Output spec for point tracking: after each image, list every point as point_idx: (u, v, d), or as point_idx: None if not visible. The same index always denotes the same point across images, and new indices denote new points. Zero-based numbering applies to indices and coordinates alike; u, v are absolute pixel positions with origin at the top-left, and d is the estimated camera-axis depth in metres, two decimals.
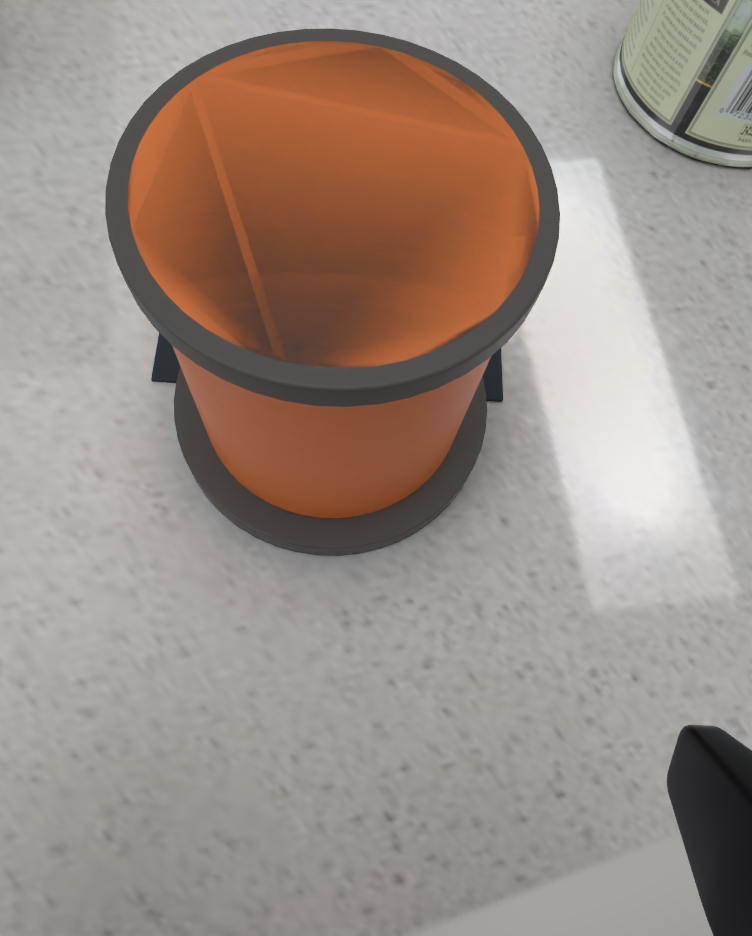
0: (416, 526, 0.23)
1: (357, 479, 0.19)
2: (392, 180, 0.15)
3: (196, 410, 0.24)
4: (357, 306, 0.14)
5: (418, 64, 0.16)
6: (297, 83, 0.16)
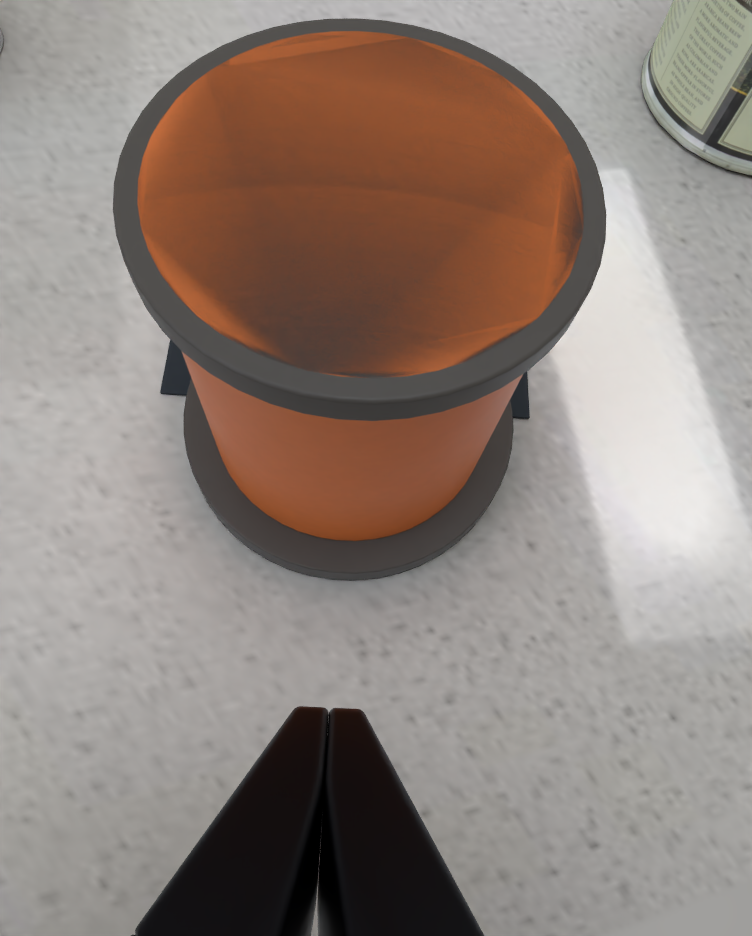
0: (438, 550, 0.21)
1: (377, 500, 0.18)
2: (423, 176, 0.14)
3: (207, 424, 0.22)
4: (385, 311, 0.13)
5: (451, 55, 0.15)
6: (322, 74, 0.15)
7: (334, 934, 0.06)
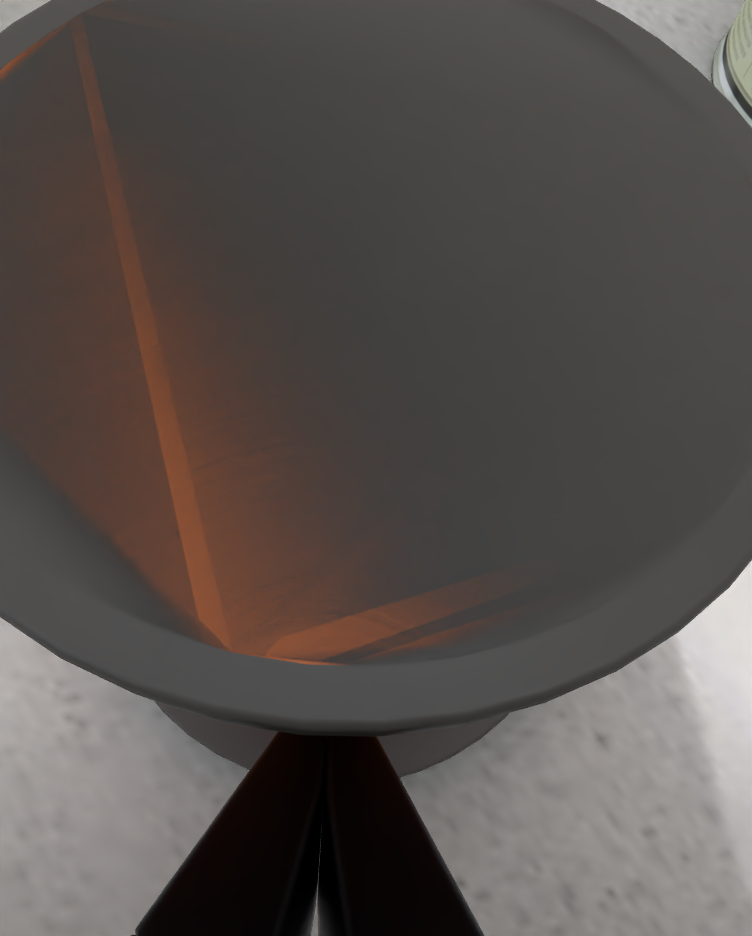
0: (472, 743, 0.15)
1: None
2: (471, 206, 0.07)
3: None
4: (405, 497, 0.06)
5: None
6: (281, 23, 0.08)
7: (334, 934, 0.06)
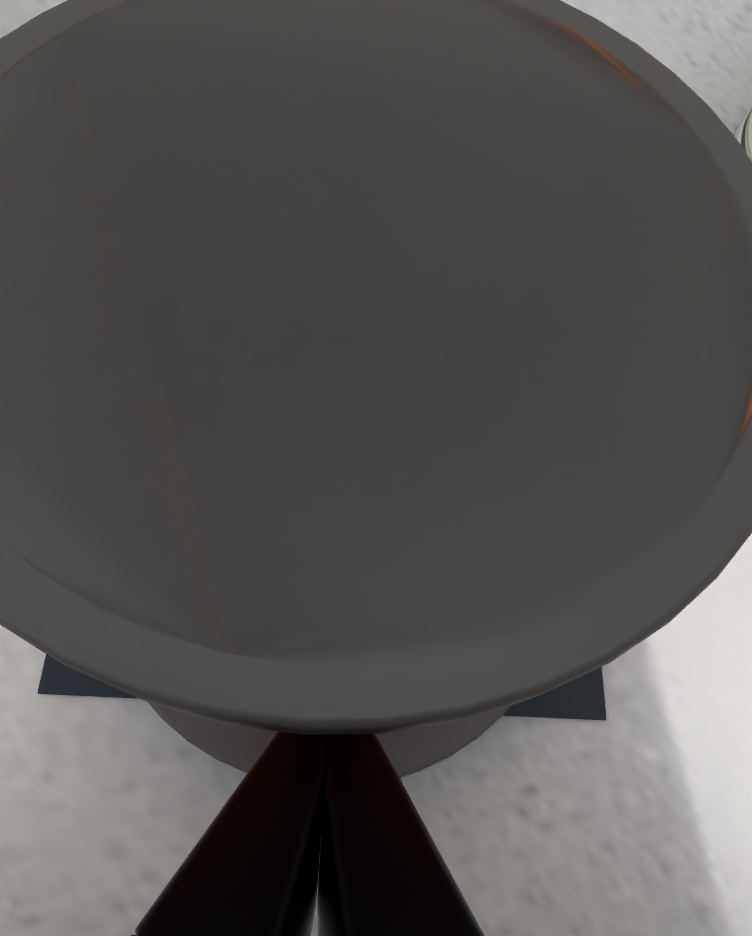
0: (470, 741, 0.15)
1: None
2: (456, 211, 0.07)
3: None
4: (399, 497, 0.06)
5: (488, 2, 0.09)
6: (264, 34, 0.08)
7: (334, 934, 0.06)
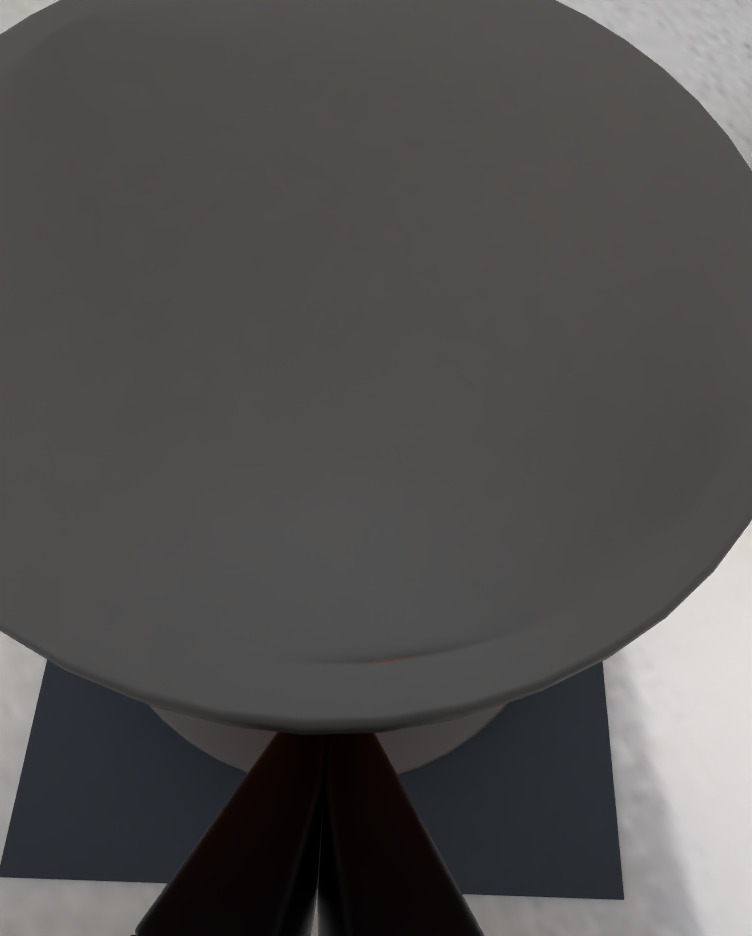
0: (470, 737, 0.15)
1: None
2: (449, 210, 0.07)
3: None
4: (395, 497, 0.06)
5: None
6: (254, 34, 0.08)
7: (334, 934, 0.06)
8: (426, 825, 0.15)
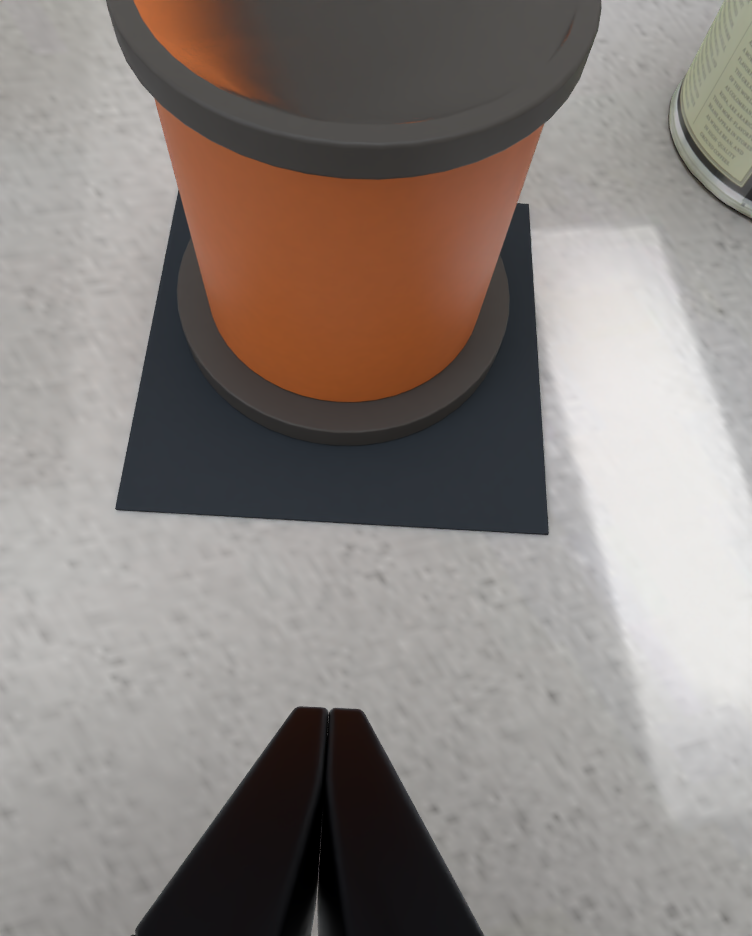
0: (441, 409, 0.21)
1: (381, 333, 0.18)
2: None
3: (201, 299, 0.22)
4: (386, 68, 0.12)
5: None
6: None
7: (334, 934, 0.06)
8: (411, 487, 0.21)
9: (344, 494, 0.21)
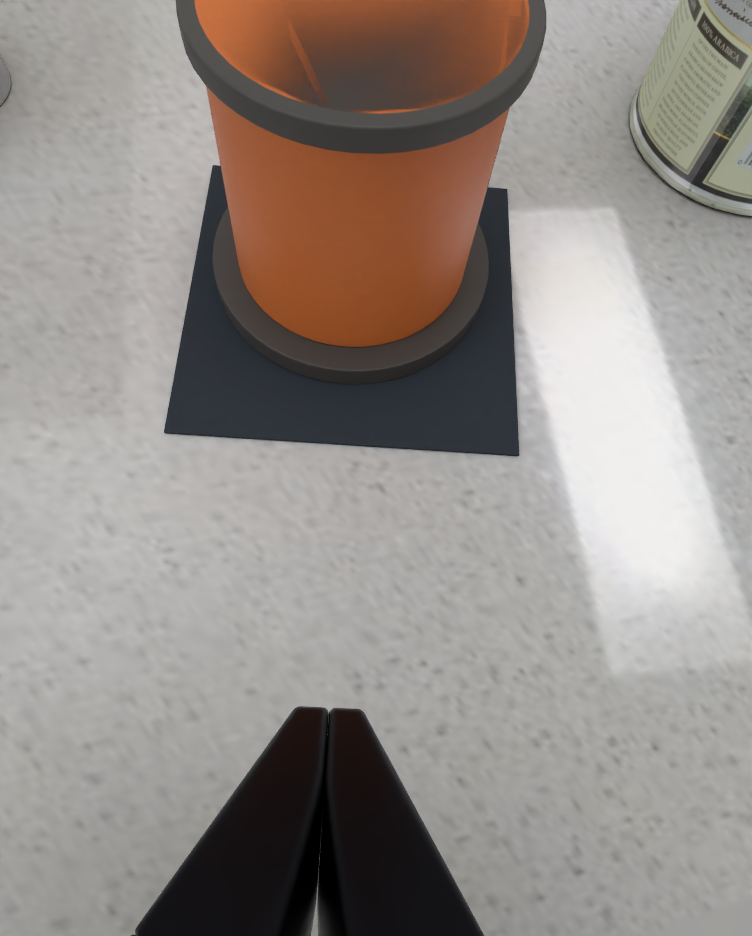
0: (431, 353, 0.26)
1: (381, 283, 0.22)
2: None
3: (232, 264, 0.27)
4: (385, 73, 0.17)
5: None
6: None
7: (334, 934, 0.06)
8: (406, 417, 0.26)
9: (350, 422, 0.25)
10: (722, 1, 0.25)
